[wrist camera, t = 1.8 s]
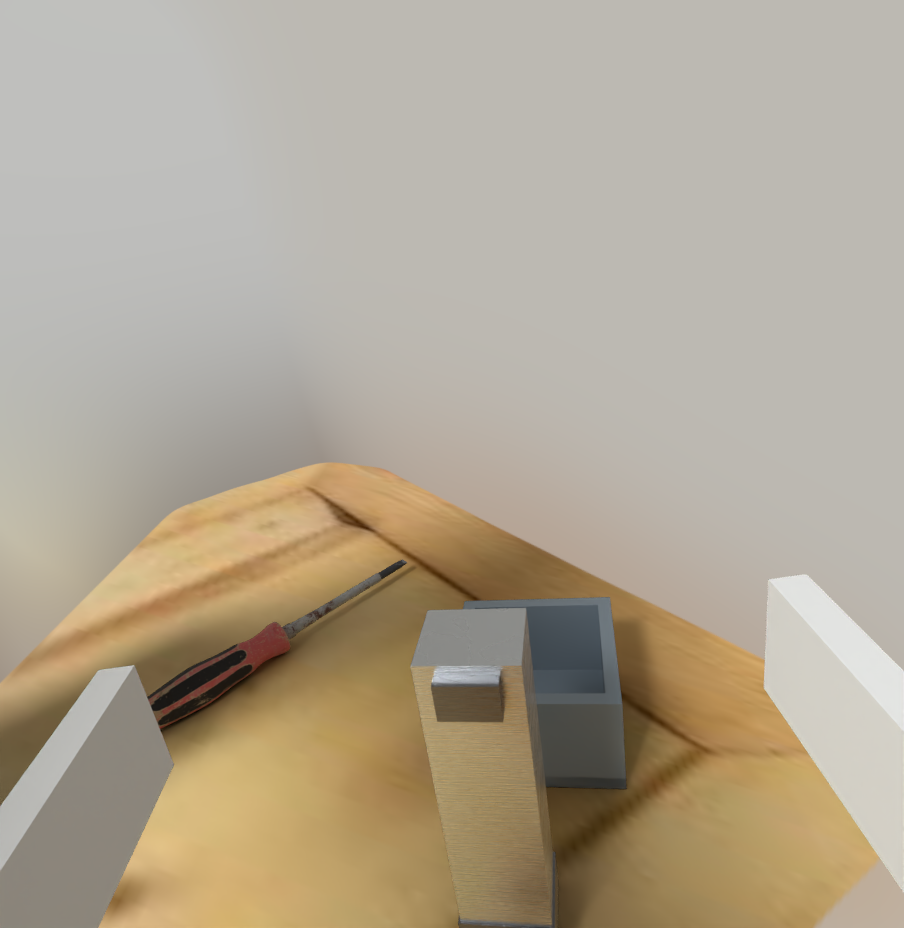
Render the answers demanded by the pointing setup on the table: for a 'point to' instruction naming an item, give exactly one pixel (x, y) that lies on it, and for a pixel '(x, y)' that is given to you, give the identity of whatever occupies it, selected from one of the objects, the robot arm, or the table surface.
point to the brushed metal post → (488, 765)
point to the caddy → (575, 689)
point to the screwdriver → (239, 661)
